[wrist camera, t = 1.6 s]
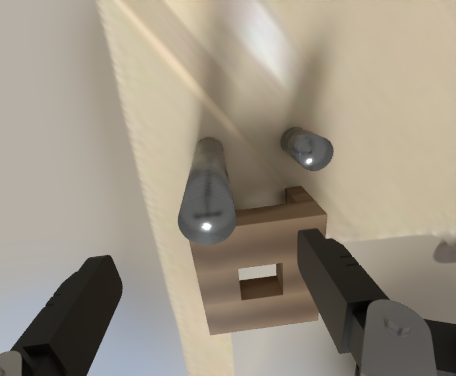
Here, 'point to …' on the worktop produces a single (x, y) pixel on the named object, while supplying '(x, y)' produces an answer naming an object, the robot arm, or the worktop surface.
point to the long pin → (207, 197)
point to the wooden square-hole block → (257, 256)
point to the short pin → (307, 148)
